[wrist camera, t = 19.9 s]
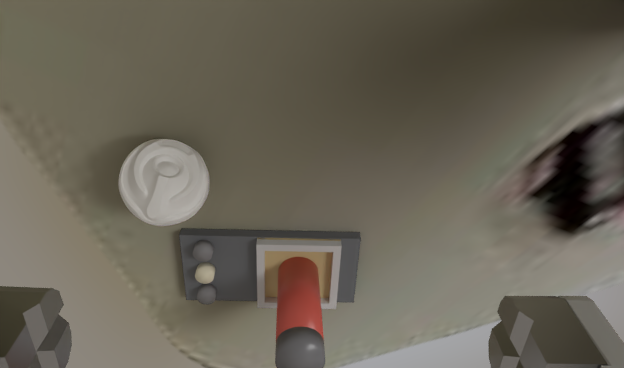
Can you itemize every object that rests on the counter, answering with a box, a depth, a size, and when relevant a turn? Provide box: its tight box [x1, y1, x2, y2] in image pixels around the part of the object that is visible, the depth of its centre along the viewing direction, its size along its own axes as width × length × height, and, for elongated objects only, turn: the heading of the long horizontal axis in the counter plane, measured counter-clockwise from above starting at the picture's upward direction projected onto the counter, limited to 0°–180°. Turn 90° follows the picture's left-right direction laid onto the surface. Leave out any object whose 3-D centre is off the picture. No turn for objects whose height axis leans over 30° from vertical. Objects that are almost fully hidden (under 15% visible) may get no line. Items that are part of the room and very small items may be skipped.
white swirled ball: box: [118, 139, 210, 226], centre depth 46 cm, size 8×8×8 cm
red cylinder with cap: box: [275, 257, 325, 368], centre depth 50 cm, size 4×4×12 cm
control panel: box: [179, 229, 361, 309], centre depth 55 cm, size 19×9×2 cm, turn 88°
